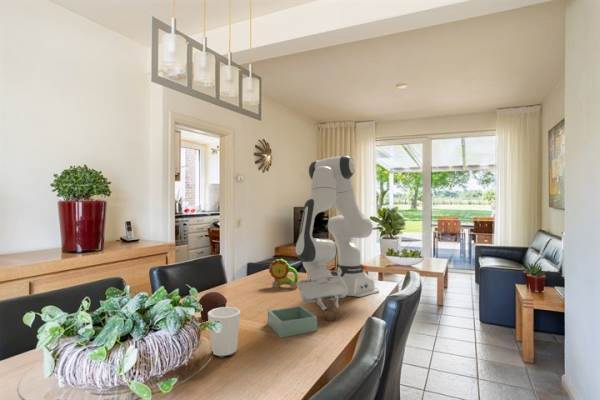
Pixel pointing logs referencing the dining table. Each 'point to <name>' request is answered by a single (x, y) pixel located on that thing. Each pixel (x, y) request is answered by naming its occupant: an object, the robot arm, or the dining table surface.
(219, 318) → the cup
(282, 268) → the toy lion
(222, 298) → the muffin
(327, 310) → the walnut peg
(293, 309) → the bin
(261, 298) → the dining table surface
